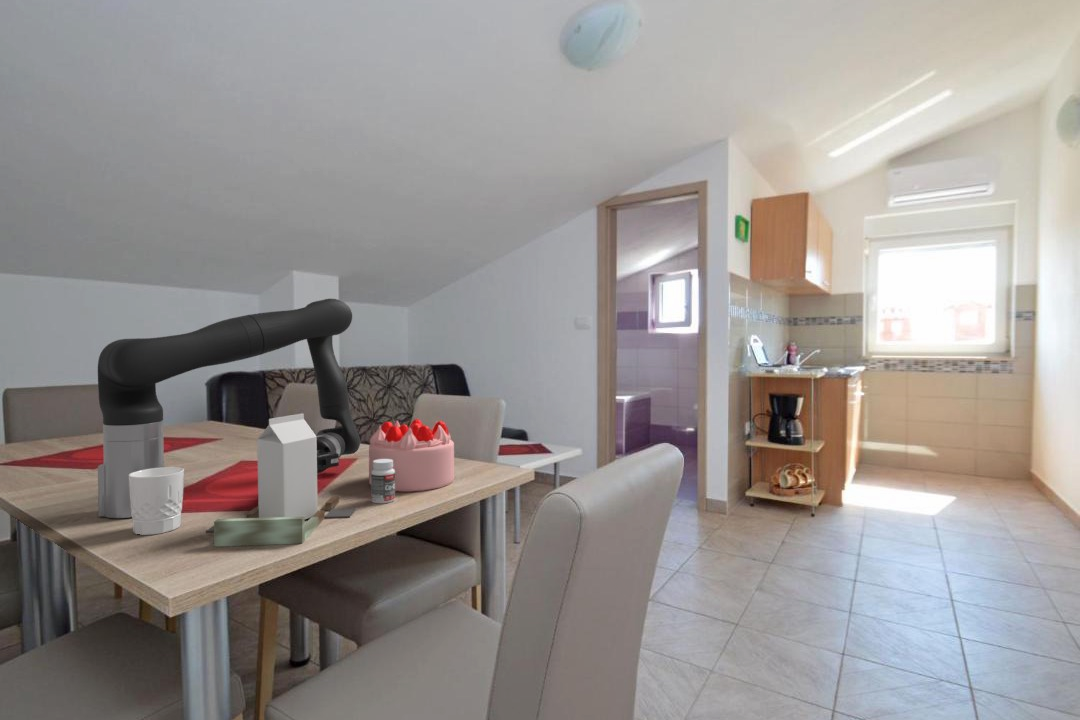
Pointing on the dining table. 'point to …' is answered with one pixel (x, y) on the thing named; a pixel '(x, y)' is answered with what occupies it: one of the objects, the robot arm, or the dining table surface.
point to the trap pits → (331, 514)
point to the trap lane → (268, 528)
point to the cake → (415, 454)
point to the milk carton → (287, 468)
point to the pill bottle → (383, 481)
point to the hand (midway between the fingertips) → (294, 469)
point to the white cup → (156, 499)
